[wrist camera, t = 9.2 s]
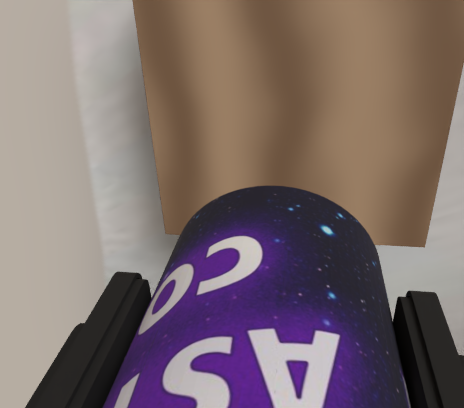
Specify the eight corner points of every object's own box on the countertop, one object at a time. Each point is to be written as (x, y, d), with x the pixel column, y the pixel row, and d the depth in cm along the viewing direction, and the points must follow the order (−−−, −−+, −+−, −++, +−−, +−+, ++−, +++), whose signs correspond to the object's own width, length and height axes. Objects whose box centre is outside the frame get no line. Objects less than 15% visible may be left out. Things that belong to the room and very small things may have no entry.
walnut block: (442, -65, 25) (490, -67, 19) (401, 185, 33) (424, 247, 27) (171, -51, 28) (125, -49, 21) (193, 178, 36) (165, 234, 29)
